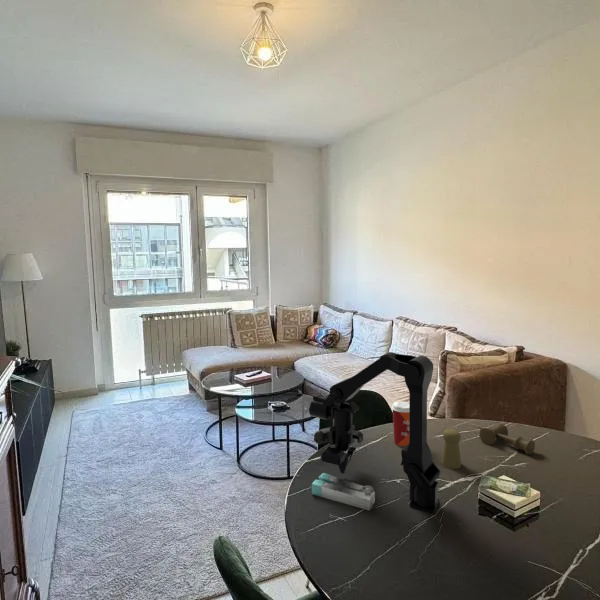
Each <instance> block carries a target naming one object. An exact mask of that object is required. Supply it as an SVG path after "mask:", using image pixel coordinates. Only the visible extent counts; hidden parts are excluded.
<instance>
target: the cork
mask: <svg viewBox="0 0 600 600" xmlns="http://www.w3.org/2000/svg"><path fill="white" fill-rule="evenodd" d="M442 435H443V440H444V443H443V449H442V450H443V451H442V456H441V461H440V462H441V465H442V466H443V467H444V468H447V469H449V470H452V469H453V470H455V469H460V468H461V467H462V460H461V450H460V444H459V443H460V441H461V438H462V437H461V433H460V432H459V431H458V430H456V429H451V428H449V429H445V430H444V432H443V434H442Z"/></svg>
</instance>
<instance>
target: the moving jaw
mask: <svg viewBox="0 0 600 600" xmlns="http://www.w3.org/2000/svg"><path fill="white" fill-rule="evenodd" d="M318 480H320V481H324V482H326V483H329V484H333V485H337V486H340V487H344V488H348V489H352V490H355V491H359V492H362V487H363V486H364V485H361V484H358V483H355V482H352V481H348V480H346V479H342V478H339V477H336V476H333V475H331V474H330V473H329V474H328V473H327V472H326V473H325V472H323V473H321V475H319V476H318Z"/></svg>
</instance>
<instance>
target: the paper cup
mask: <svg viewBox="0 0 600 600" xmlns="http://www.w3.org/2000/svg"><path fill="white" fill-rule="evenodd" d="M391 409H392V422H393V425H392V426H393V439H394V440H393V441H394V442H393V443H394V445H396V446H398V447H406V446H407V445H408V444H409V401H408V402H407V401H395V402H394V403H392V406H391Z"/></svg>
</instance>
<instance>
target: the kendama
mask: <svg viewBox="0 0 600 600" xmlns="http://www.w3.org/2000/svg"><path fill="white" fill-rule="evenodd" d="M477 429H478V430H479V432H478V436H479V439H480V441H481V442H482V443H483V444H485V445H488V446H491V445H494V444H495V443H496V439H501V440H503V441H505V442H507V443H509V444H511V445H512V446H513V447H514V448H515V449H516V450H521V451H523V452H525V454H526V455H527V456H530V455H532V454H533V453H534V451H535V449H536V441H535V440H534V439H530V440H529V439H528V440H527V439H524V438H523V436H518V437H517V436H511V435H509V430H508V427H507V426H506V425H505V424H504V423H501V422H497V423H495V424H494V425H493V427H492V428H490V427H481V426H477Z"/></svg>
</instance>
